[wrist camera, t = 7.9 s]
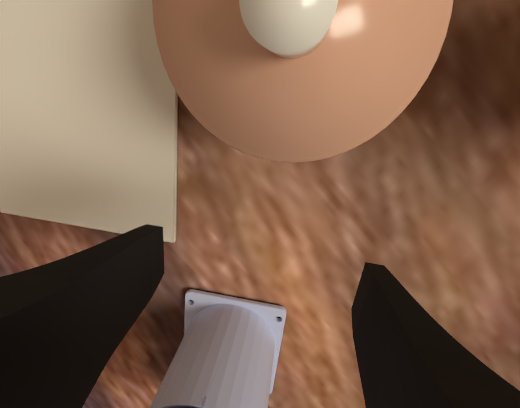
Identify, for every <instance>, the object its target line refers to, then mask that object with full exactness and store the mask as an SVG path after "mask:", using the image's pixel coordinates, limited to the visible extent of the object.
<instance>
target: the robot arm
mask: <svg viewBox="0 0 520 408" xmlns="http://www.w3.org/2000/svg"><path fill="white" fill-rule="evenodd" d="M163 274H164V247H163V227H161V226H155V225H149V224H146V225H143V226H140V227H137V228H135V229H133V230H130V231H128V232H126V233H123V234H121V235H119V236H117V237H114V238H112V239H110V240H107V241H105V242H103V243H100V244H98V245H96V246H93V247H91V248H88V249H86V250H83V251H81V252H78V253H76V254H73V255H71V256H68V257H65V258H63V259H60V260H57V261H54V262H51V263H48V264H45V265H42V266H39V267H36V268H32V269H29V270H26V271H22V272H19V273H15V274H11V275H7V276H3V277H0V408H82V407H83V405H84V403H85V401H86V399H87V397H88V395H89V394H90V392H91V390H92V388H93V386H94V385H95V383H96V381H97V379H98V377H99V376H100V374H101V372H102V370H103V369H104V367H105V365H106V363H107V362H108V360H109V358H110V357H111V355H112V354H113V352H114V351H115V349H116V348H117V346H118V345H119V343H120V342H121V341H122V339H123V338H124V336H125V335H126V333H127V332H128V331H129V329H130V328H131V326H132V325H133V323H134V322H135V321H136V319H137V318H138V316H139V315H140V314H141V312H142V311H143V309H144V308H145V306H146V305H147V303H148V302H149V300H150V299H151V297H152V296H153V294H154V292H155V290H156V288H157V287H158V285H159V283H160V280H161V278H162V276H163ZM190 300H193V301H194V302H192V301H190ZM277 317H281V318H277ZM285 318H286V309H285V308H284V307H282V306H278V305H273V304H268V303H262V302H257V301H252V300H246V299H241V298H236V297H231V296H225V295H220V294H215V293H209V292H204V291H199V290H193V289H190V290H188V291H187V292H186V294H185V317H184V337H183V339H182V341H181V344H180V346H179V348H178V350H177V352H176V354H175V356H174V358H173V360H172V362H171V364H170V366H169V369H168V371H167V373H166V375H165V377H164V379H163V381H162V383H161V385H160V387H159V389H158V391H157V393H156V396H155V398H154V400H153V402H152V404H151V406H150V408H268V400H269V394H271V393H272V389H273V383H274V378H275V372H276V367H277V362H278V356H279V351H280V345H281V340H282V335H283V329H284V324H285ZM352 328H353V339H354V345H355V350H356V356H357V362H358V367H359V372H360V378H361V383H362V388H363V394H364V399H365V405H366V408H520V391H519V390H518V389H516V388H515V387H514V386H512V385H511V384H509V383H508V382H507V381H505V380H504V379H503V378H501V377H500V376H499V375H497V374H496V373H495V372H494V371H492V370H491V369H490V368H488V367H487V366H486V365H485V364H483V363H482V362H481V361H480V360H479V359H477V358H476V357H475V356H474V355H473V354H471V353H470V352H469V351H468V350H467V349H466V348H464V347H463V346H462V345H461V344H460V343H459V342H457V341H456V340H455V339H454V338H453V337H452V336H451V335H450V334H449V333H448V332H447V331H446V330H444V329H443V328H442V327H441V326H440V325H439V324H438V323H437V322H436V321H435V320H434V319H433V318H432V317H431V316H430V315H429V314H428V313H427V312H426V311H425V310H424V309H423V308H422V307H421V306H420V304H419V303H418V302H417V301H416V300H415V299H414V298H413V297H412V296H411V295H410V294H409V293H408V291H407V290H406V289H405V288H404V287H403V286H402V285H401V284H400V283H399V281H398V280H397V279H396V278H395V277H394V276H393V275H392V274H391V272H390V271H389V270H388V269H387V268H386V267H385V266H383V265H378V264H372V263H366V262H365V266H364V269H363V272H362V276H361V279H360V282H359V286H358V289H357V292H356V296H355V299H354V302H353V305H352Z"/></svg>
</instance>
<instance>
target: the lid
mask: <svg viewBox="0 0 520 408" xmlns="http://www.w3.org/2000/svg"><path fill="white" fill-rule="evenodd" d="M152 6H153V22H154V28H155V34H156V40H157V45H158V48H159V52H160V55H161V59H162V62H163V65H164V67H165V70H166V72H167V74H168V77H169V79H170V81H171V83H172V85H173V87H174V89H175V90H176V92H177V94H178V96H179V97H180V99H181V100H182V102H183V103H184V105H185V106H186V107H187V109H188V110H189V111H190V113H191V114H192V115H193V116H194V117H195V118H196V119H197V120H198V122H199V123H200V124H201V125H202V126H204V127H205V128H206V129H207V130H208V131H209V132H210V133H212V134H213V135H214V136H215V137H217V138H218V139H220V140H221V141H223V142H224V143H226V144H227V145H229V146H231V147H233V148H235V149H237V150H239V151H241V152H243V153H246V154H249V155H252V156H254V157H257V158H262V159H266V160H271V161H278V162H289V163H290V162H309V161H315V160H321V159H325V158H328V157H332V156H335V155H339V154H341V153H344V152H346V151H348V150H350V149H353V148H355V147H357V146H359V145H360V144H362V143H364V142H366V141H367V140H369V139H371V138H372V137H374V136H375V135H376V134H378V133H379V132H380V131H382V130H383V129H384V128H386V127H387V126H388V125H389V124H390V123H391V122H392V121H393V120H394V119H395V118H396V117H398V116H399V115H400V114H401V113H402V112H403V110H404V109H405V108H406V107H407V106H408V104H409V103H410V102H411V101H412V100H413V99H414V97H415V96H416V95H417V93H418V92H419V90H420V89H421V87H422V85H423V84H424V82H425V81H426V79H427V78H428V76H429V74H430V72H431V70H432V68H433V66H434V64H435V62H436V60H437V58H438V56H439V53H440V50H441V48H442V45H443V42H444V40H445V37H446V33H447V29H448V25H449V21H450V17H451V13H452V6H453V0H152Z"/></svg>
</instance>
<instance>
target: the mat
mask: <svg viewBox="0 0 520 408" xmlns="http://www.w3.org/2000/svg"><path fill="white" fill-rule="evenodd" d="M177 117H178V94H177V92H176V90H175V89H174V87H173V85H172V83H171V81H170V79H169V77H168V74H167V72H166V70H165V67H164V65H163V62H162V59H161V55H160V52H159V48H158V45H157V40H156V34H155V28H154V22H153V6H152V0H0V211H1V213H7V214H13V215H18V216H24V217H30V218H35V219H41V220H47V221H53V222H58V223H64V224H70V225H75V226H81V227H87V228H92V229H98V230H104V231H109V232H115V233H121V234H123V233H126V232H128V231H130V230H133V229H135V228H137V227H140V226H143V225H146V224H149V225H155V226H161V227H163V241H166V242H172V243H174V242H175V241H176V204H177Z"/></svg>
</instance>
